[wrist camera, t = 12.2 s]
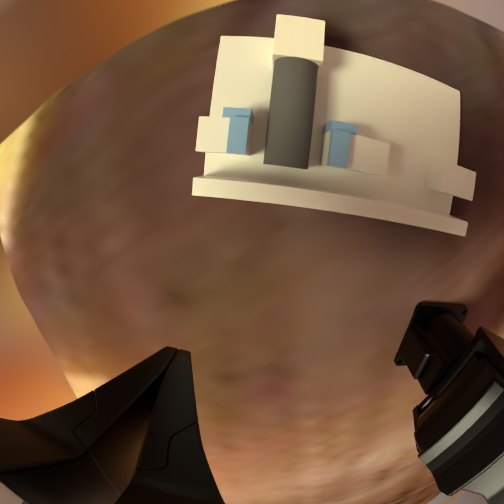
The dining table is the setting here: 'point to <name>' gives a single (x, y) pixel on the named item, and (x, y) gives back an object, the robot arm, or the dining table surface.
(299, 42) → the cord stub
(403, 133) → the backplate with stepped blocks
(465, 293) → the dining table surface
